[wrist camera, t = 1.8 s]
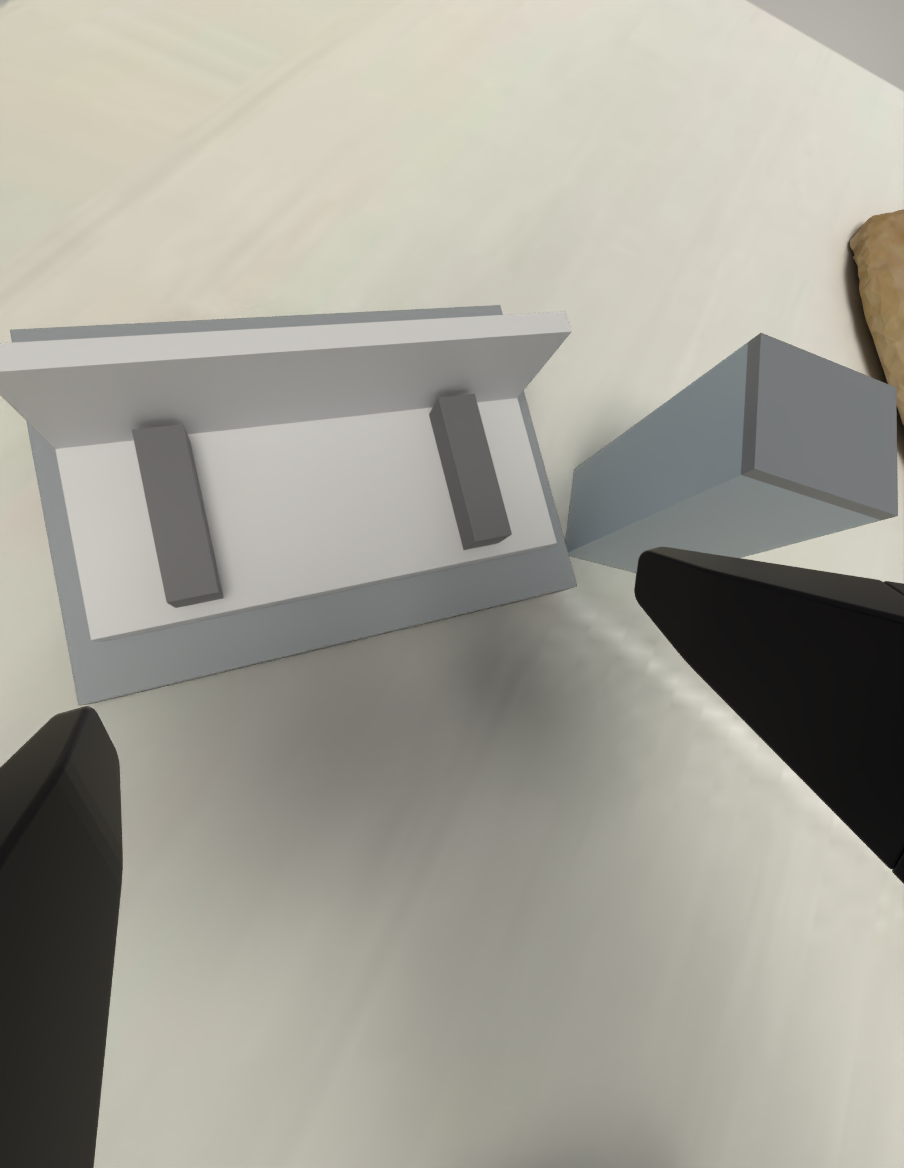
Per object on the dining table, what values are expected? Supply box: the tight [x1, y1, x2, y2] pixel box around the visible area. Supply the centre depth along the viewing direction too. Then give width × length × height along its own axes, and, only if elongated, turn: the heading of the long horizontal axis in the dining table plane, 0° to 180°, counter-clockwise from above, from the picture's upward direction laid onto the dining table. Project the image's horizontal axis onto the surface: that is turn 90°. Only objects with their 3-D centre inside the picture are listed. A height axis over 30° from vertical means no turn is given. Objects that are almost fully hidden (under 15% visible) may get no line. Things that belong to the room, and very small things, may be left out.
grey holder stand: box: [0, 305, 577, 705], centre depth 20 cm, size 14×20×7 cm
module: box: [565, 333, 898, 573], centre depth 22 cm, size 5×6×12 cm
